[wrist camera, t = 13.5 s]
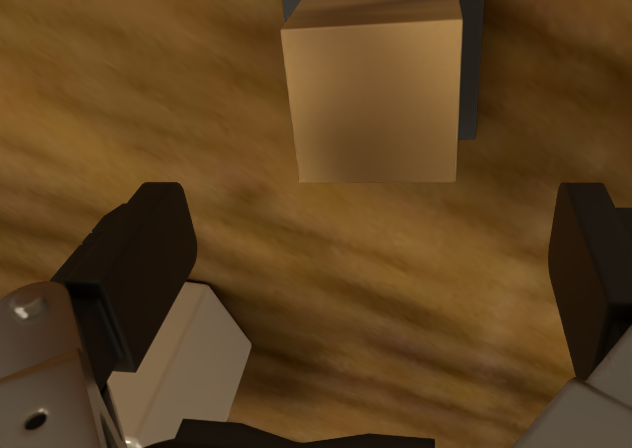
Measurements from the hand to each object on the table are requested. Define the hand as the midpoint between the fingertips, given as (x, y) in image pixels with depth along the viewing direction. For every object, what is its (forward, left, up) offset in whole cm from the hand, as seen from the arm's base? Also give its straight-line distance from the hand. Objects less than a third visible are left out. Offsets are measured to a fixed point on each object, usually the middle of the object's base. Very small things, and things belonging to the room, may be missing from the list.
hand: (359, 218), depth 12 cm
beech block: (0, 0, -11) cm, 11 cm away
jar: (+12, +15, -11) cm, 22 cm away
